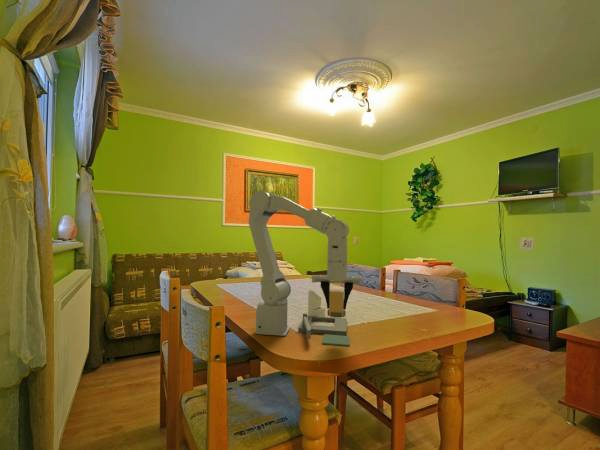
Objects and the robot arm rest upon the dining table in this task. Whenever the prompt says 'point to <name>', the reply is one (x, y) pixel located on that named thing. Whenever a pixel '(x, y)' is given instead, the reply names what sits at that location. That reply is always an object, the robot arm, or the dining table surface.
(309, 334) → the retaining bar
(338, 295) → the plug
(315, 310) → the white wedge bracket
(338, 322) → the dock plate
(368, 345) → the dining table surface
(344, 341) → the pad
